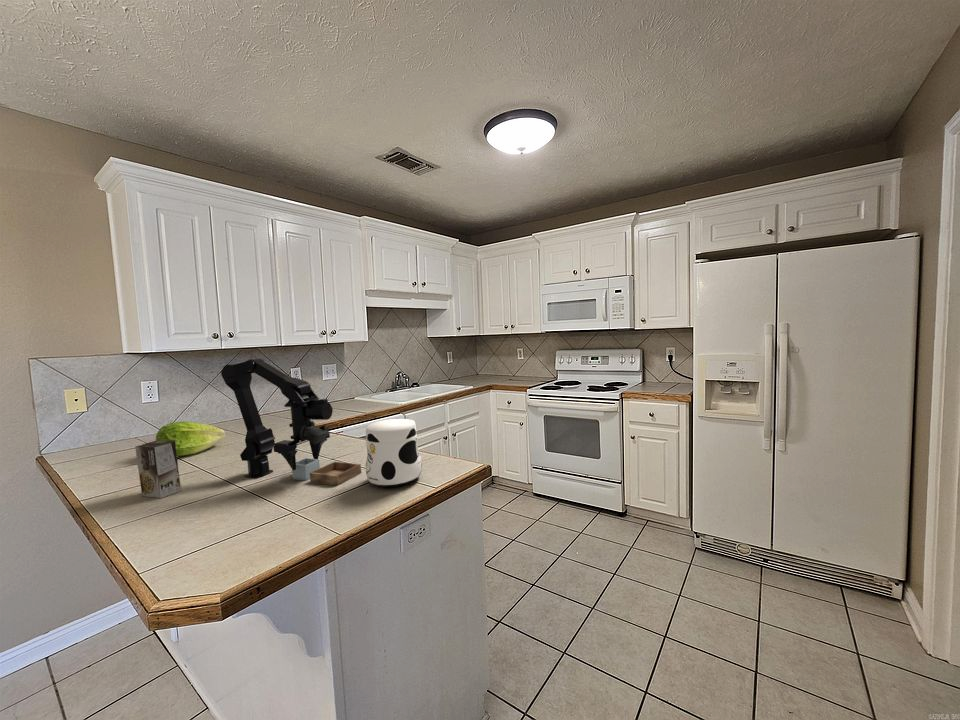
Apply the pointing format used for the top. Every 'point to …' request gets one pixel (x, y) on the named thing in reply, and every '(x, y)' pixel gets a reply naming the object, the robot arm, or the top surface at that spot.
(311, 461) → the small crate
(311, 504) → the top surface
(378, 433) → the milk container
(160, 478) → the coffee box
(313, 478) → the brown wooden tray
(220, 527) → the top surface
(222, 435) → the lettuce
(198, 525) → the top surface
